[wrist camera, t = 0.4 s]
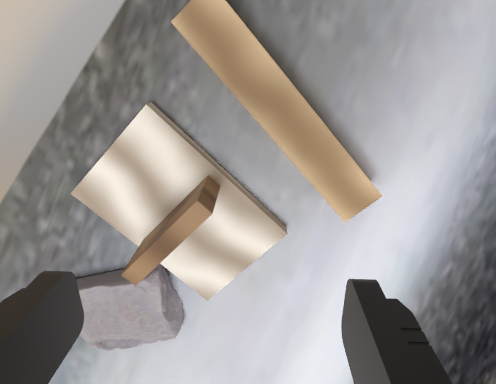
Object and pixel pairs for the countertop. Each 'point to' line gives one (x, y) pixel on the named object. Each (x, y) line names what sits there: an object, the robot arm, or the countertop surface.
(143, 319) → the stone block
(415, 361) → the robot arm
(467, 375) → the countertop surface
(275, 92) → the oak batten
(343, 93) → the countertop surface
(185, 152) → the stand
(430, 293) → the countertop surface
